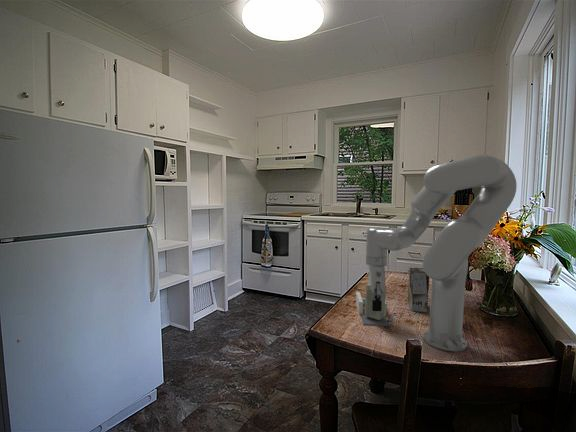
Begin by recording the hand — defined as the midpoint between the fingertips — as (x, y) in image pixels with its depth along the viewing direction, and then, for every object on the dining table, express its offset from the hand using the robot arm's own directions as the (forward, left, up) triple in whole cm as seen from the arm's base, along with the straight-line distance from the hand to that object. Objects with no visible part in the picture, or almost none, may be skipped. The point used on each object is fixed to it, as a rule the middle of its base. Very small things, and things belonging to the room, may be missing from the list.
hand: (375, 306), depth 116 cm
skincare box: (0, 0, -4) cm, 4 cm away
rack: (+10, 0, -5) cm, 11 cm away
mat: (-1, 0, -5) cm, 5 cm away
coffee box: (+15, -20, -5) cm, 25 cm away
